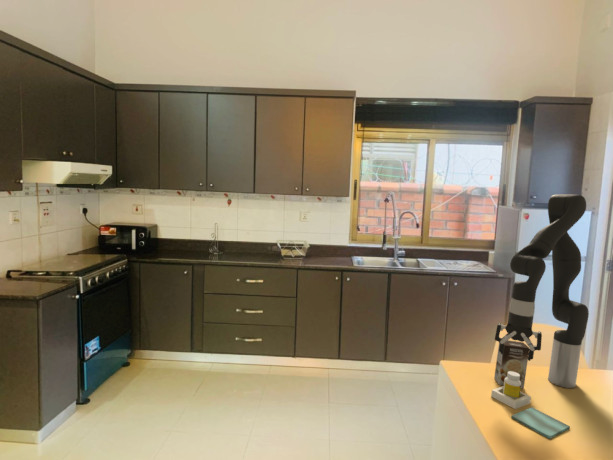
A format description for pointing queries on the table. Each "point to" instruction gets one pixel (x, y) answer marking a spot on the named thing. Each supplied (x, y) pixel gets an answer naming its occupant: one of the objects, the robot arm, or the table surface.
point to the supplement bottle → (512, 385)
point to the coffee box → (512, 361)
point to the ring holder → (515, 404)
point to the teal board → (540, 422)
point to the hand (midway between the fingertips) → (515, 356)
